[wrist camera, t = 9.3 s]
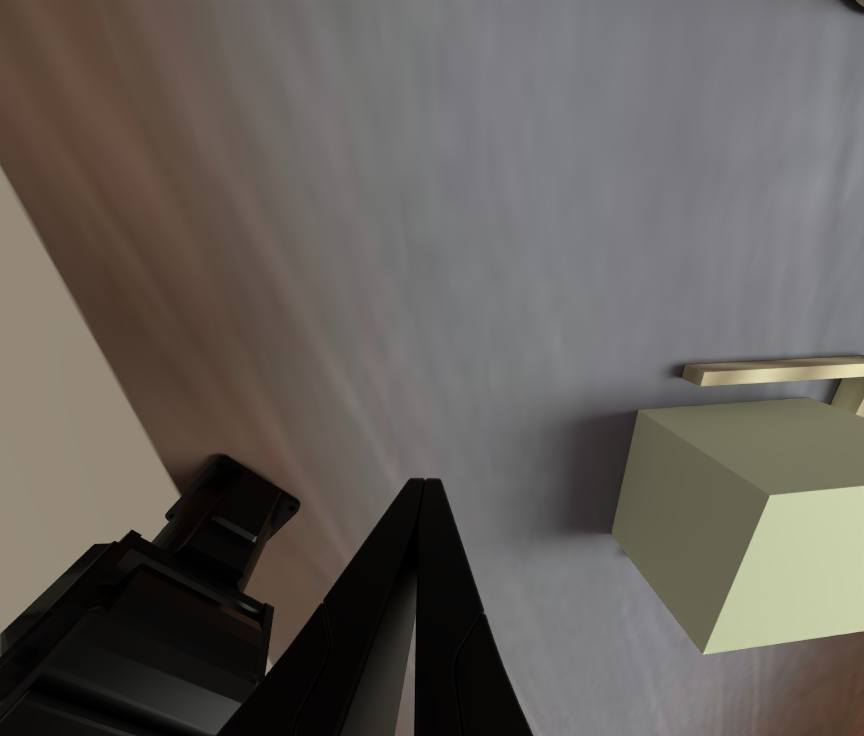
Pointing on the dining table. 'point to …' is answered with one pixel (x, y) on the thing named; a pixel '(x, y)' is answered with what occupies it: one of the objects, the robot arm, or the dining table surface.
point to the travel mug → (861, 2)
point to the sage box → (748, 519)
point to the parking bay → (789, 375)
